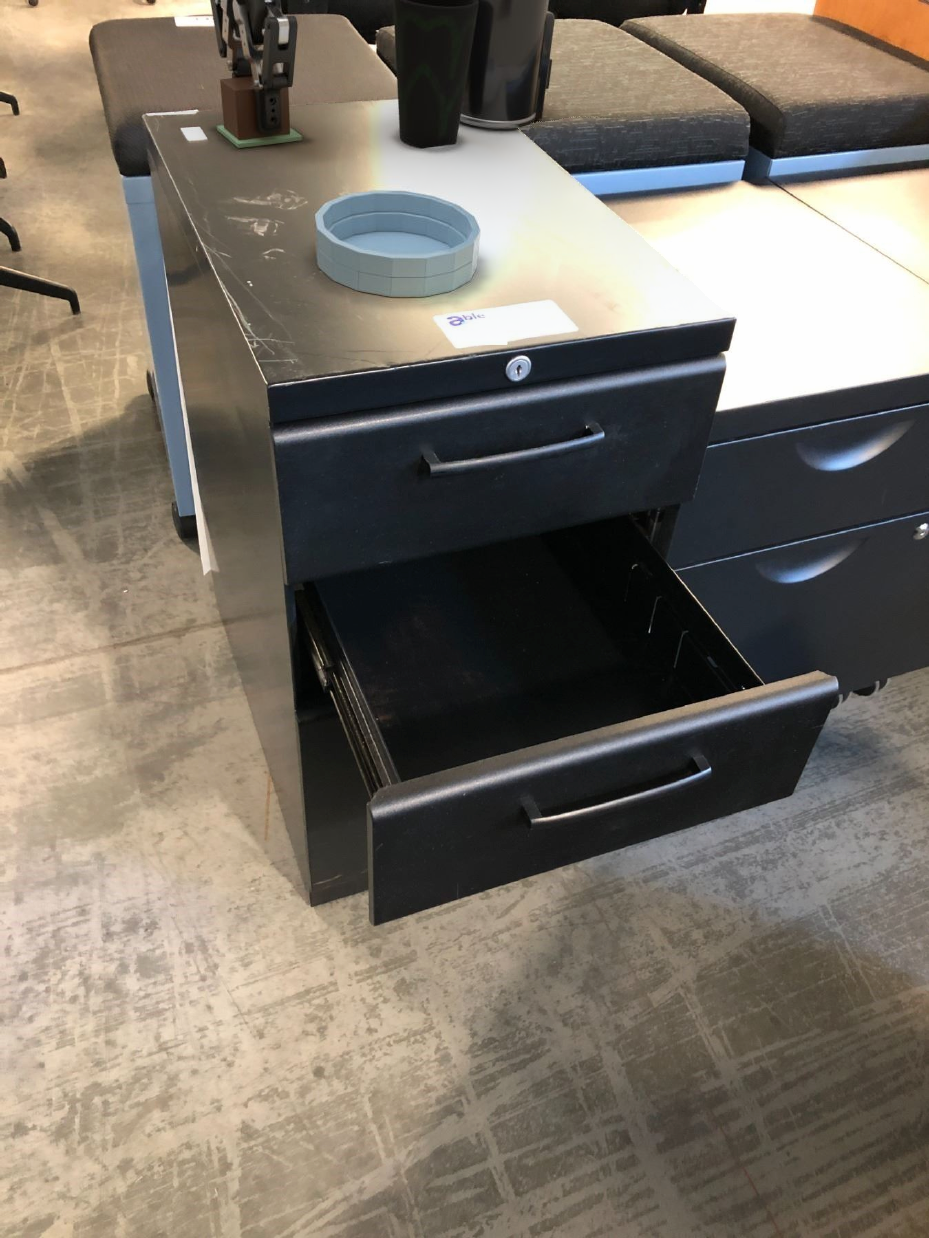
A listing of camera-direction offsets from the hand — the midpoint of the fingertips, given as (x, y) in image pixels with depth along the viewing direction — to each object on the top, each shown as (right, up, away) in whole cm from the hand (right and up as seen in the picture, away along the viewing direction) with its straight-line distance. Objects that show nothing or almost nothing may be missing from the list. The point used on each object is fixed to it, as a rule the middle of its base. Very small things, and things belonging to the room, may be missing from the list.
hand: (258, 123), depth 91 cm
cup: (+16, 0, +4) cm, 16 cm away
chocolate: (0, -1, 0) cm, 1 cm away
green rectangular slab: (0, -1, +1) cm, 1 cm away
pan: (+14, -20, -17) cm, 30 cm away
